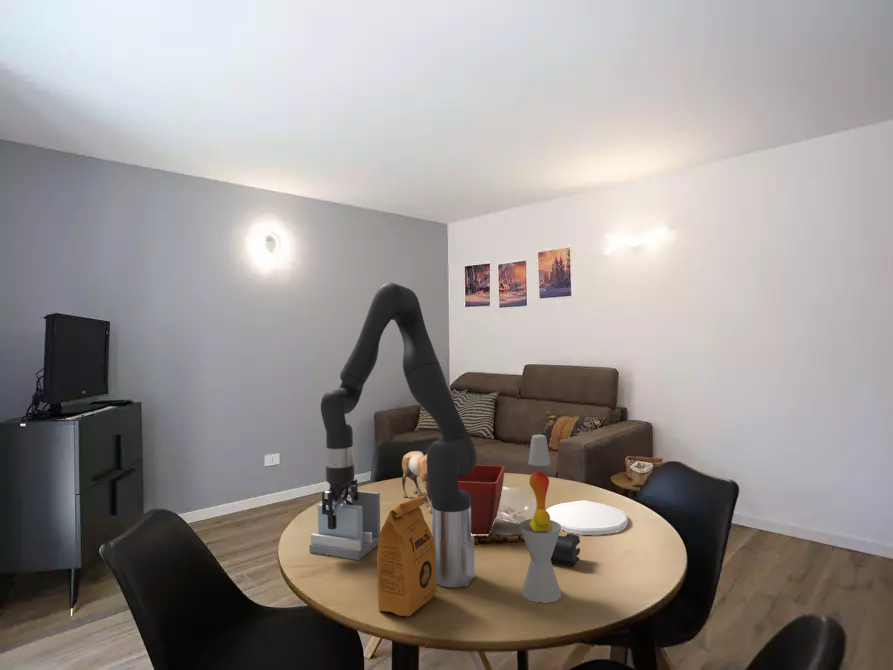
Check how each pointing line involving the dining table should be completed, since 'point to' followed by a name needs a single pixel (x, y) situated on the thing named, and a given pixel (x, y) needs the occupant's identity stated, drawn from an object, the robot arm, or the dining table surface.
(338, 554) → the grey slotted stand
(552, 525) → the lava lamp
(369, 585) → the dining table surface
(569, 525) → the decorative plate
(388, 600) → the coffee package
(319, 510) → the door panel
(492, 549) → the dining table surface
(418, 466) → the horse figurine
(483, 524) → the plant pot
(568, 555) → the end cap
